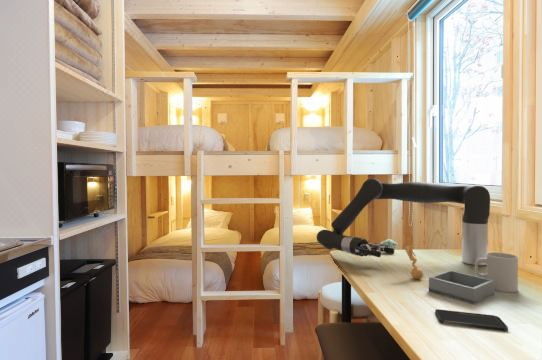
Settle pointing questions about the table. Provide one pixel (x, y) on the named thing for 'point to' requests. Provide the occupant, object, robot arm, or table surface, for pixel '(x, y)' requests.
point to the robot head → (390, 243)
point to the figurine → (415, 271)
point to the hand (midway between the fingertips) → (387, 253)
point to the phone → (471, 320)
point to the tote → (461, 286)
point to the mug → (500, 271)
